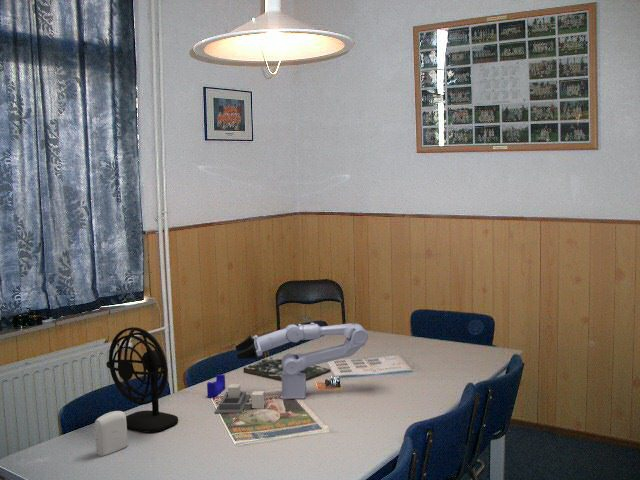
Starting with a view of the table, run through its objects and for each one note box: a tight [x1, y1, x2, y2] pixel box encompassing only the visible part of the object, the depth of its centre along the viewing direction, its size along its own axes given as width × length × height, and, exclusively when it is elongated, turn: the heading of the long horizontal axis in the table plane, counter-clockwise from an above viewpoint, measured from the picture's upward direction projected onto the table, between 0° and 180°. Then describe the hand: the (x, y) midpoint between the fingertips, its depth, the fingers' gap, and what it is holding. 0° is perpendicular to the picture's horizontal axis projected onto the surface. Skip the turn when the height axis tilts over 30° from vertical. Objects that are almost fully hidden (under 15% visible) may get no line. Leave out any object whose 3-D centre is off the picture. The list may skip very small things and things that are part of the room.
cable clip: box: [206, 374, 226, 399], centre depth 284 cm, size 12×4×6 cm, turn 168°
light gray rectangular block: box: [251, 390, 266, 410], centre depth 266 cm, size 4×4×6 cm
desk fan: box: [105, 326, 179, 433], centre depth 250 cm, size 27×18×35 cm, turn 59°
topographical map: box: [243, 357, 332, 382], centre depth 313 cm, size 26×33×3 cm
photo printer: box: [94, 410, 129, 457], centre depth 229 cm, size 10×4×12 cm, turn 140°
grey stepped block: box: [214, 383, 251, 415], centre depth 270 cm, size 10×20×6 cm, turn 177°
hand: (236, 352), depth 274 cm, fingers open, 7 cm apart
